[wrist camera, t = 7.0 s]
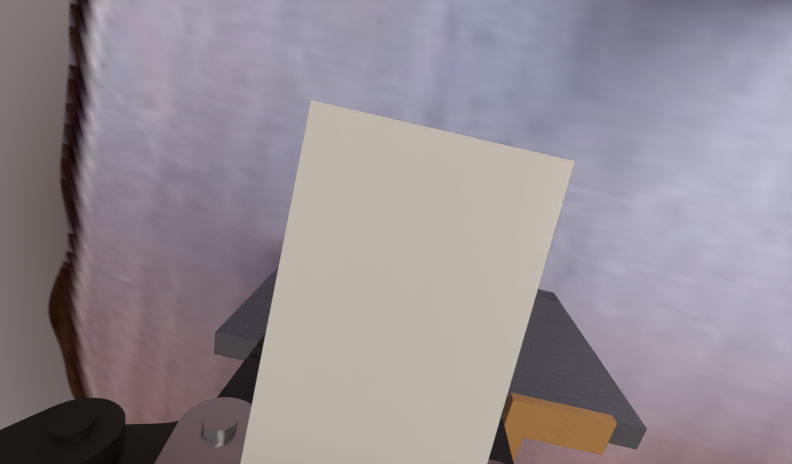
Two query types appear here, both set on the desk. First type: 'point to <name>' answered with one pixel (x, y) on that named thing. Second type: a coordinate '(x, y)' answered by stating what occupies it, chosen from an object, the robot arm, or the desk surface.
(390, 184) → the panel
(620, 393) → the rack
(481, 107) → the desk surface
